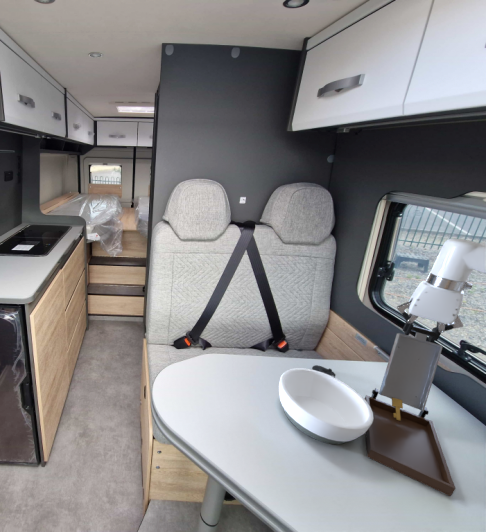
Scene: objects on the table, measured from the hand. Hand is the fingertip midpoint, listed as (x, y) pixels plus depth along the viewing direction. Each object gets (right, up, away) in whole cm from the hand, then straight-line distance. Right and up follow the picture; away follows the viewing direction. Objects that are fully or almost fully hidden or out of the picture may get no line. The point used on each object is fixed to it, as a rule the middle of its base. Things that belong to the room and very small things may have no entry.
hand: (418, 337), depth 93 cm
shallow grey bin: (-3, -8, 0) cm, 9 cm away
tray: (-14, -26, -10) cm, 31 cm away
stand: (-7, -23, 0) cm, 24 cm away
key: (-8, -21, -2) cm, 22 cm away
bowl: (-34, -22, -5) cm, 41 cm away
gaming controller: (-22, -17, +11) cm, 30 cm away
